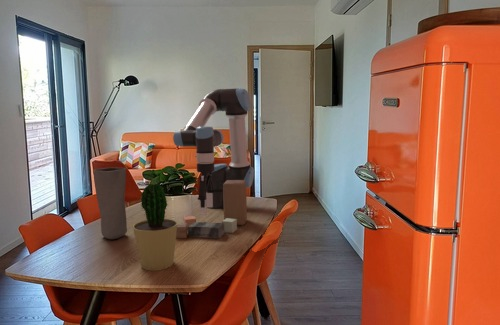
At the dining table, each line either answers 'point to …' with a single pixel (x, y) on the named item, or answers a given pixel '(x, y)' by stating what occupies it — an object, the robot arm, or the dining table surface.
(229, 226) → the sage cube
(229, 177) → the robot arm
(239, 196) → the wooden block
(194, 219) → the terracotta cube
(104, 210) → the vase
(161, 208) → the potted cactus
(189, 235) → the stone block
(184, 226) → the walnut cube
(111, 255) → the dining table surface
